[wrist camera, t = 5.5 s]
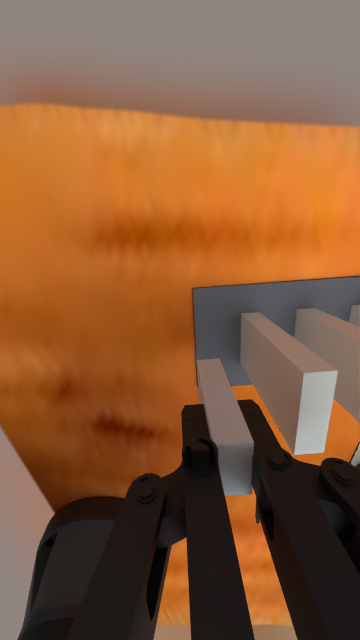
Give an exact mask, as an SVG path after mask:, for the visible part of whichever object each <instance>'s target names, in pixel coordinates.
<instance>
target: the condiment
mask: <svg viewBox="0 0 360 640" xmlns="http://www.w3.org/2000/svg"><path fill="white" fill-rule="evenodd" d="M351 464H352V465H353V466H355V467H356V468H357V469H359V470H360V444H359V446H358V449H357V451H356V452H355V455H354V457H353V459H352V461H351Z"/></svg>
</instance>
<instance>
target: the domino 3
mask: <svg viewBox="0 0 360 640" xmlns="http://www.w3.org/2000/svg"><path fill="white" fill-rule="evenodd" d="M349 323H351V324H354V325H356V326H358V327H360V305H352V308H351V314H350V320H349Z"/></svg>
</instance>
